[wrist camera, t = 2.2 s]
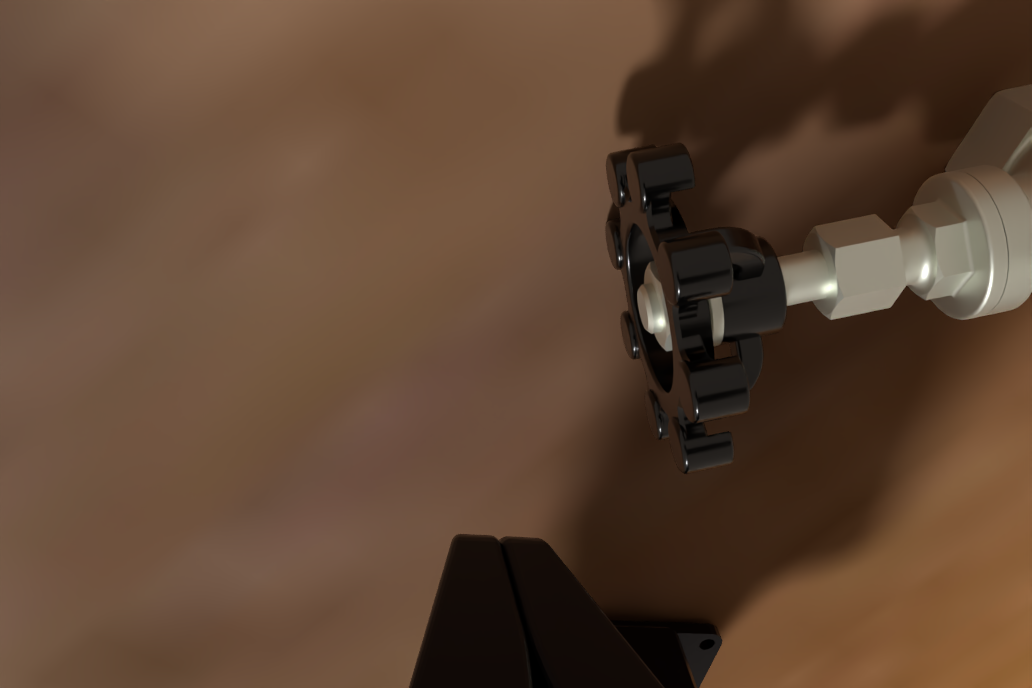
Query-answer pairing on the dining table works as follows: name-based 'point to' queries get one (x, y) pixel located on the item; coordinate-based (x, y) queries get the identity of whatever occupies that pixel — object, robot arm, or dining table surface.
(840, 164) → the dining table surface
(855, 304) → the valve
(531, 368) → the dining table surface
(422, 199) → the dining table surface
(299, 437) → the dining table surface
